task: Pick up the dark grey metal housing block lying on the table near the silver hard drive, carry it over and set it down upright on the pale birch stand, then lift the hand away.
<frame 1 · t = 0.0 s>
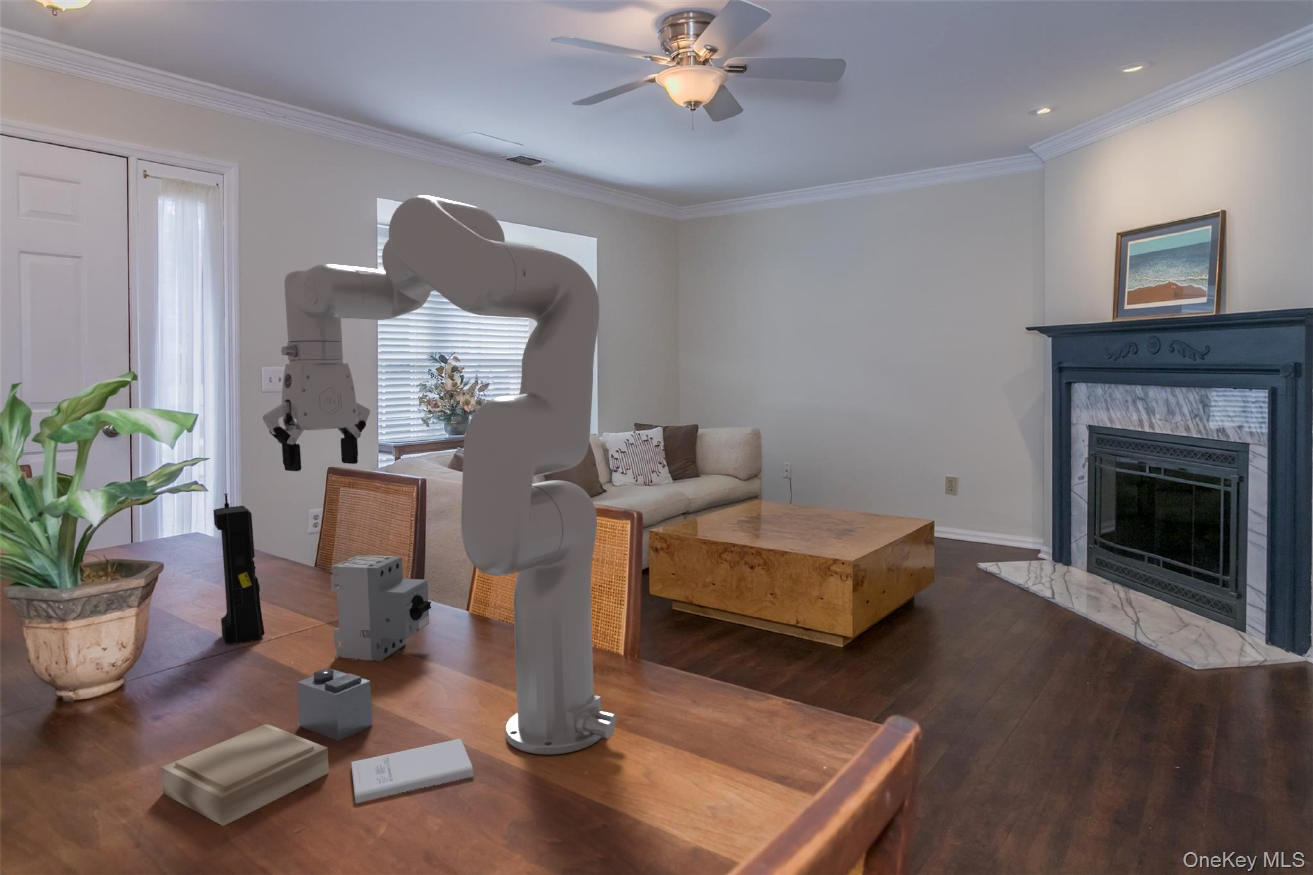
hand: (322, 466, 119), 31 cm above the table, tool pointing down, fingers open, 9 cm apart
housing: (336, 726, 100), on the table
stand: (247, 782, 86), on the table
circuit breaker: (388, 653, 127), on the table
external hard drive: (412, 778, 88), on the table
portable radio: (244, 638, 135), on the table
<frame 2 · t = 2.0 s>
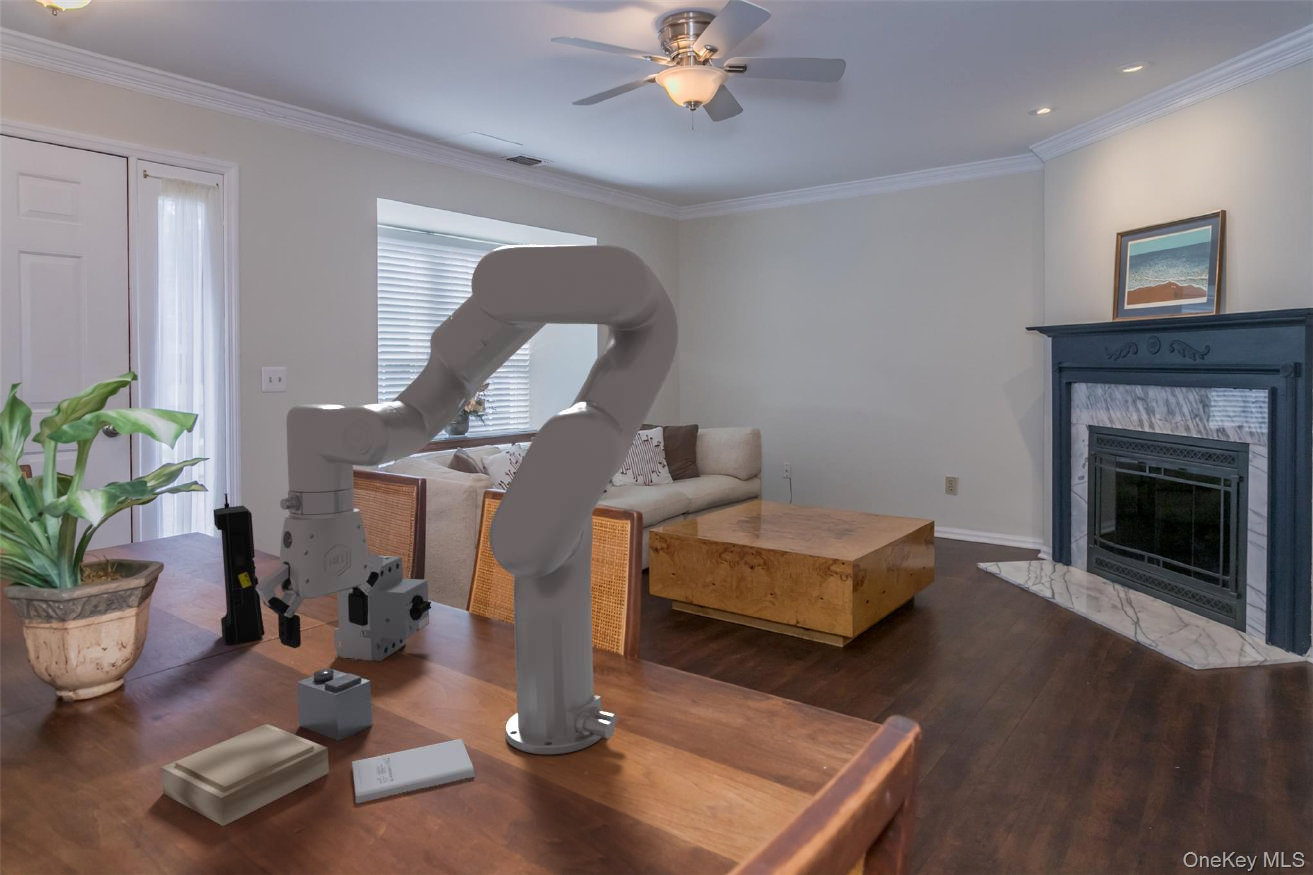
hand: (325, 634, 99), 12 cm above the table, tool pointing down, fingers open, 9 cm apart
nothing on the table moved.
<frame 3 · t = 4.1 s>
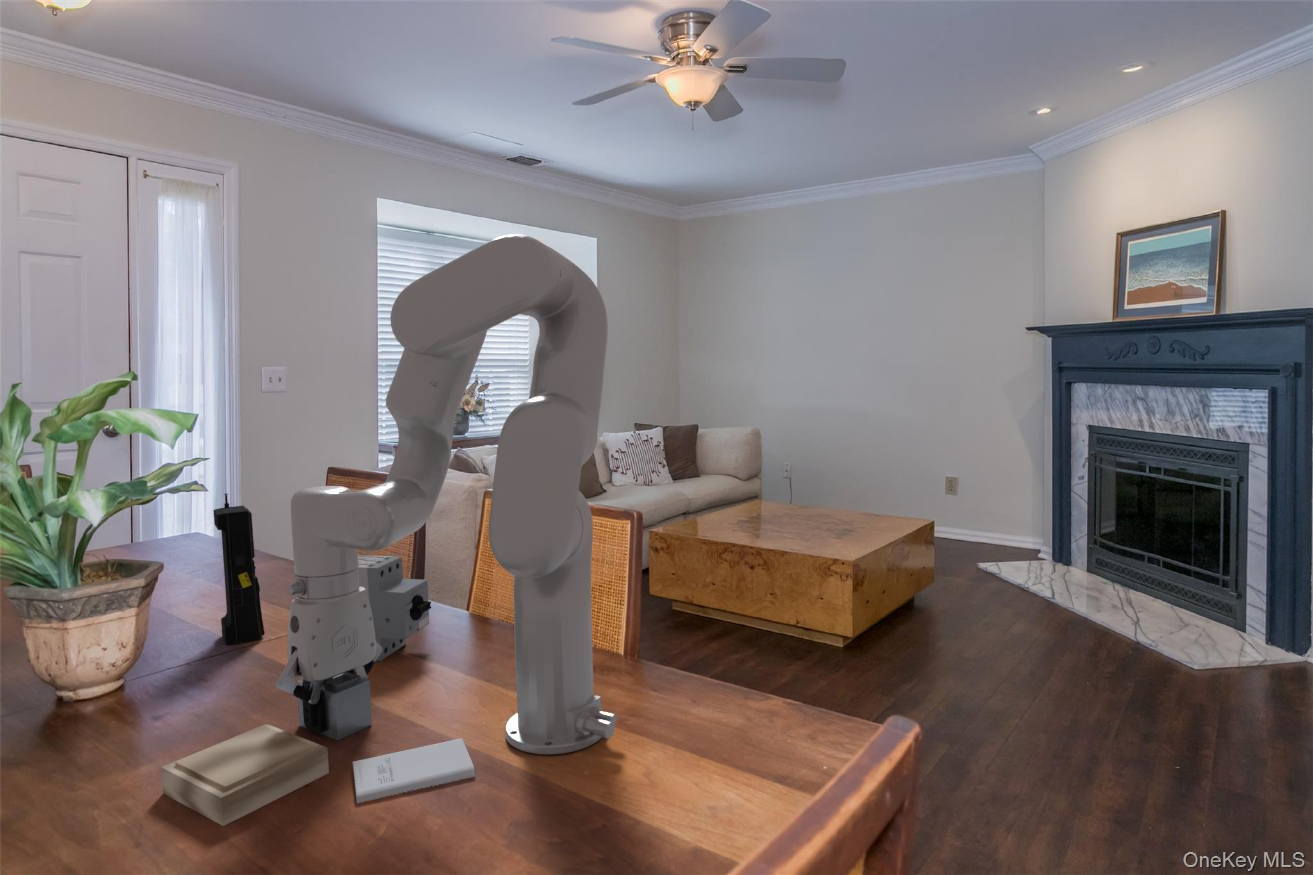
hand: (335, 719, 100), 1 cm above the table, tool pointing down, fingers closed on housing, 5 cm apart
housing: (335, 725, 100), on the table, touching gripper
everything else where it was.
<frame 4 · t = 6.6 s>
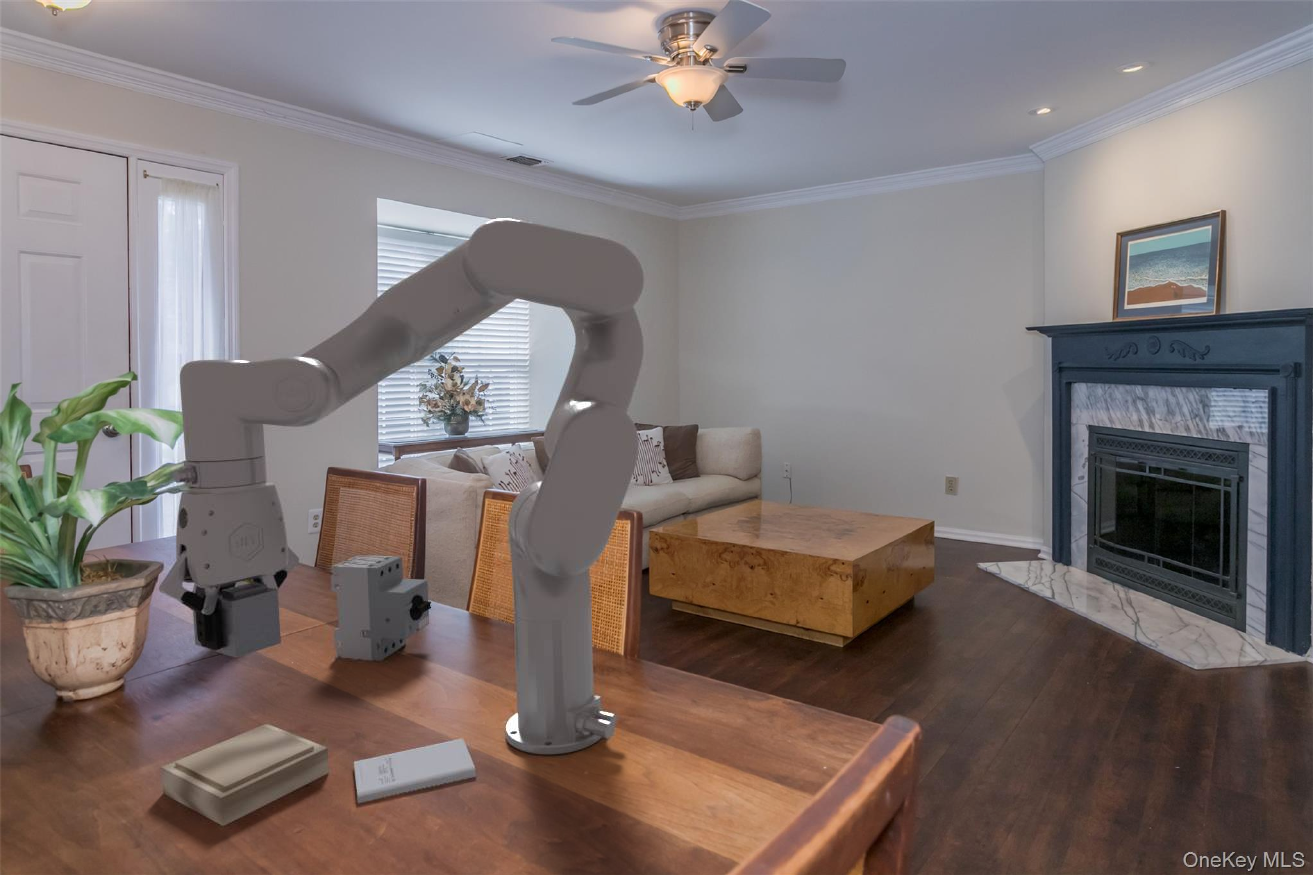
hand: (238, 637, 85), 17 cm above the table, tool pointing down, fingers closed on housing, 5 cm apart
housing: (238, 643, 85), point 16 cm above the table, touching gripper
everything else where it was.
when the fingers open (5 cm above the table, at t = 9.4 s): housing stays where it is, resting on stand.
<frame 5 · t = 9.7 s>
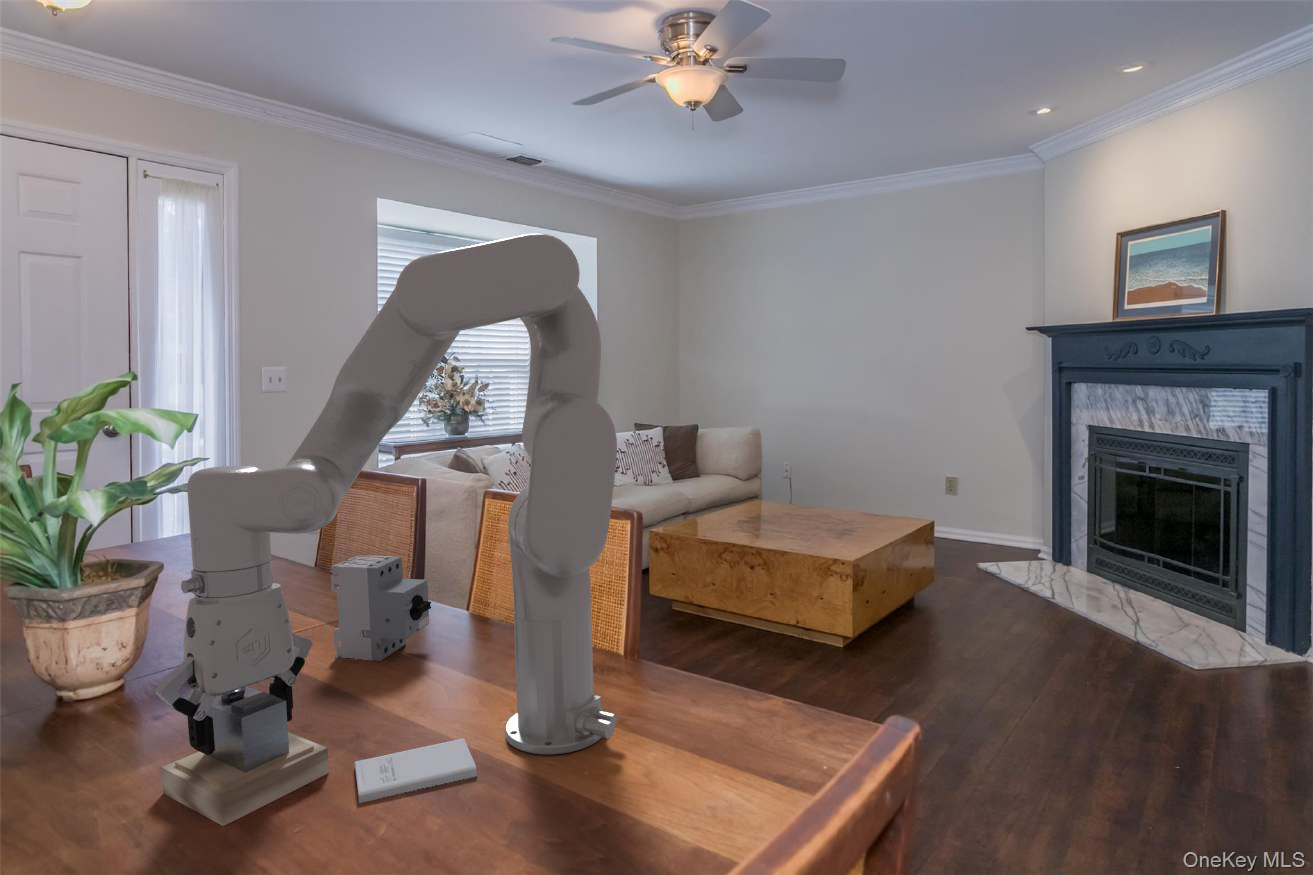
hand: (244, 733, 86), 6 cm above the table, tool pointing down, fingers open, 8 cm apart
housing: (247, 753, 86), point 3 cm above the table, touching stand
everything else where it was.
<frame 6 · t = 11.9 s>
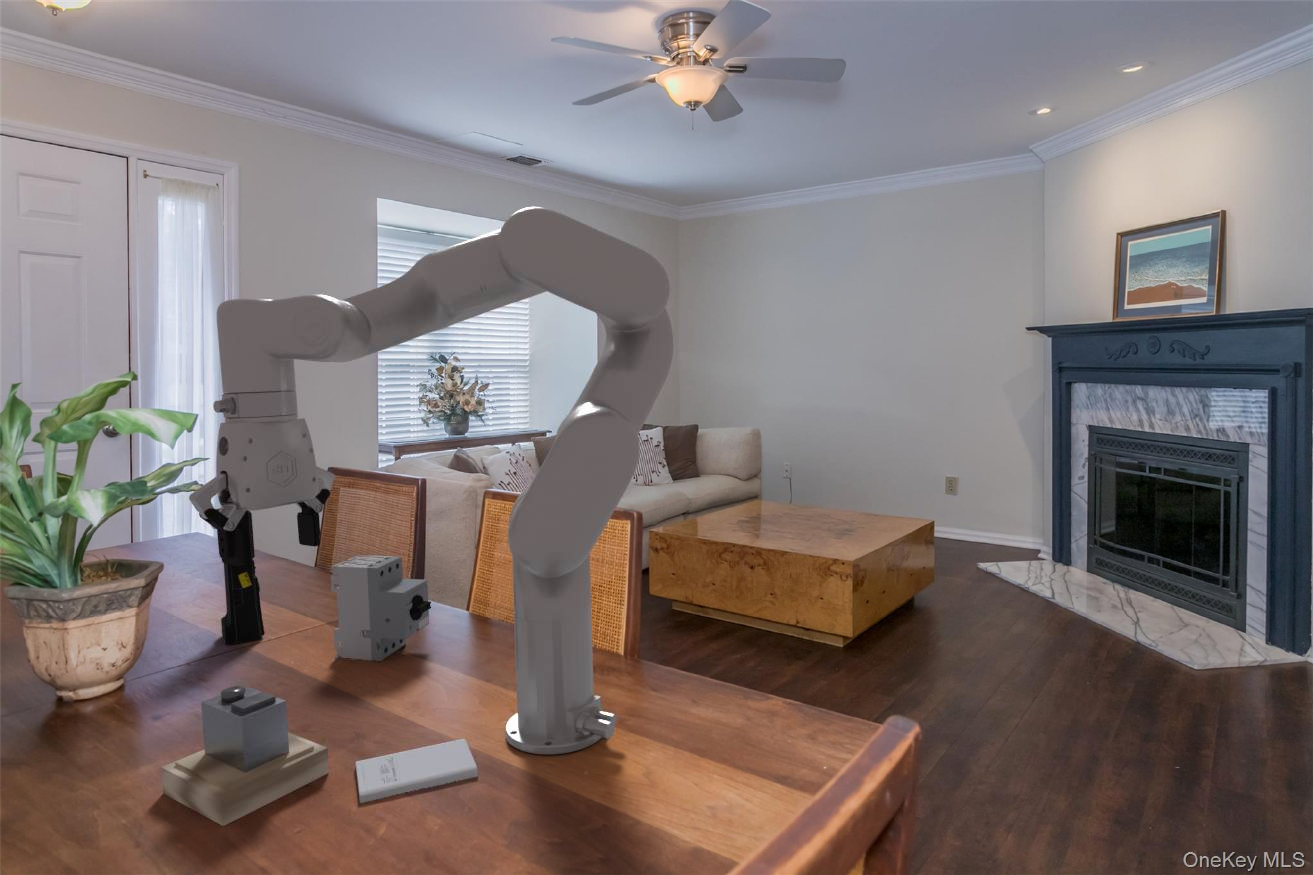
hand: (273, 554, 91), 24 cm above the table, tool pointing down, fingers open, 9 cm apart
nothing on the table moved.
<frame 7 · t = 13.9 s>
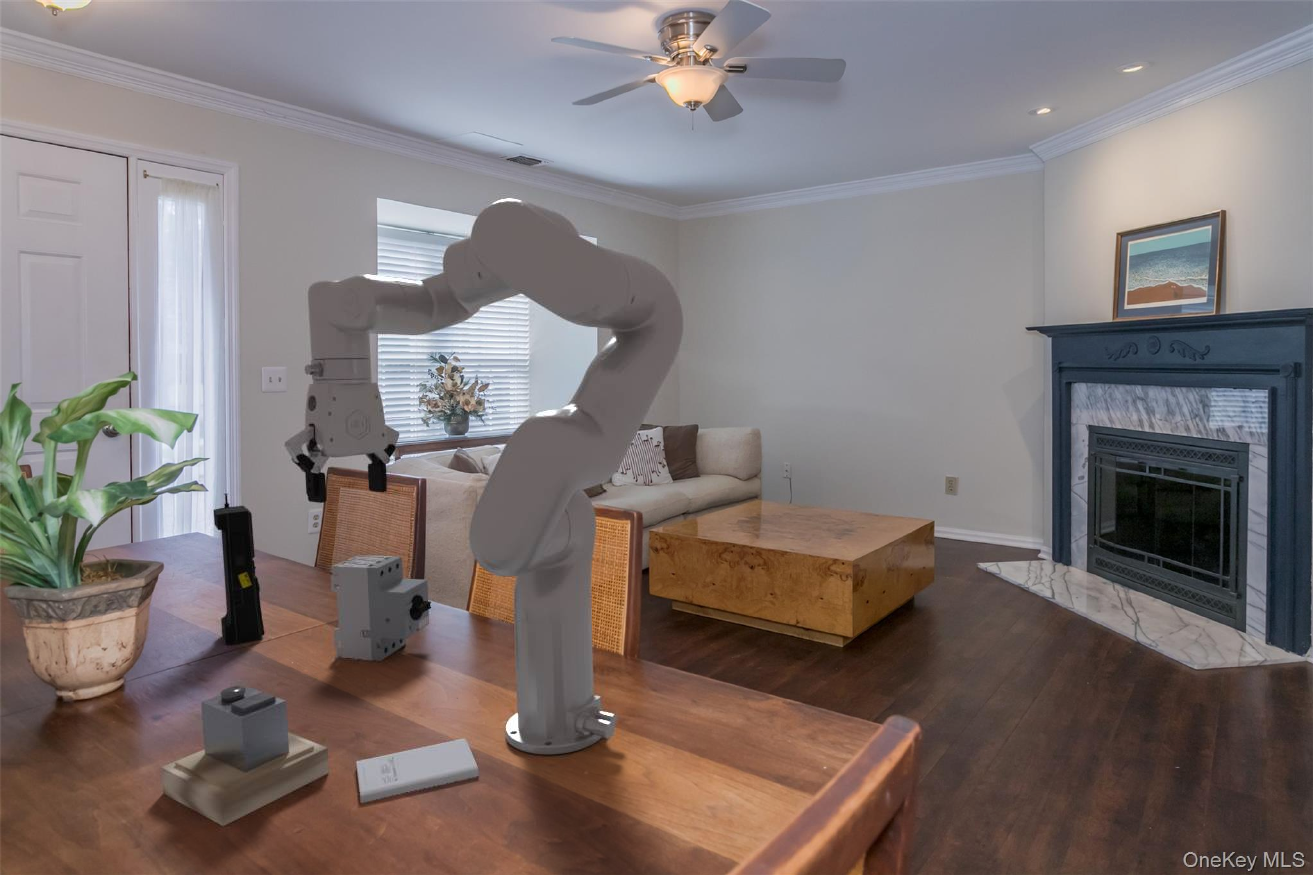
hand: (348, 496, 108), 28 cm above the table, tool pointing down, fingers open, 9 cm apart
nothing on the table moved.
at the end: housing inside the target area on the stand (0.1 cm from its centre), point 3.4 cm above the stand's base; housing tilted 0°; the gripper is holding nothing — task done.
